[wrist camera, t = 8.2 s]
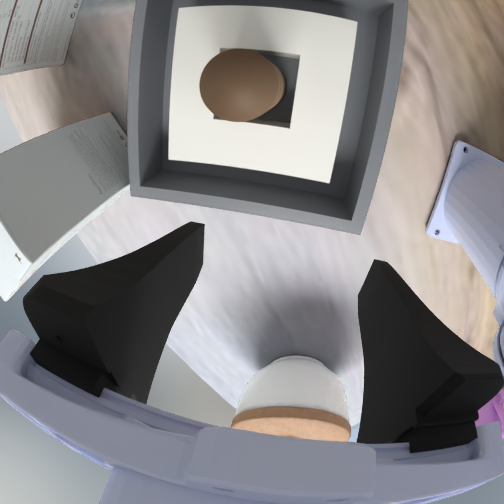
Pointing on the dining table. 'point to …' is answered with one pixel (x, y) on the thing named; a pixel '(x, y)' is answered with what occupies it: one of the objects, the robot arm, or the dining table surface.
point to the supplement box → (35, 33)
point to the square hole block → (274, 120)
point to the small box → (56, 192)
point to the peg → (241, 85)
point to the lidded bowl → (295, 401)
